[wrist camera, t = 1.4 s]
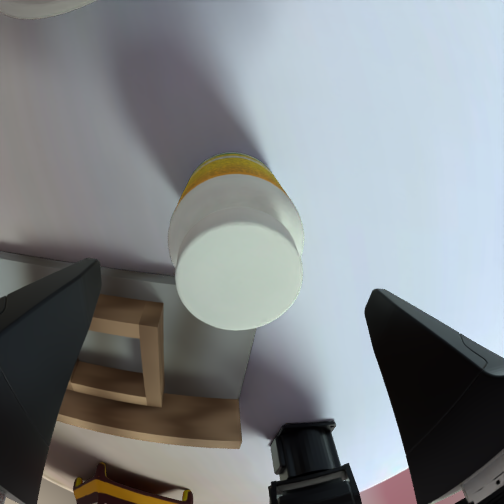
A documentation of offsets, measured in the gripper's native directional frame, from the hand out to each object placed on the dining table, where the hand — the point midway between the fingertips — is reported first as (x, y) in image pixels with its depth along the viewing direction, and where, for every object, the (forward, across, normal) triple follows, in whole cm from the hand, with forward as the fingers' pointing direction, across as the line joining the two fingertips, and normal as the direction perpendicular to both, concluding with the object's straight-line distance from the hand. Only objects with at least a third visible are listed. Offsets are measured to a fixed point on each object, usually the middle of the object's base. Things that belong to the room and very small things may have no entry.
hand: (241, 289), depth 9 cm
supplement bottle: (+10, 0, 0) cm, 10 cm away
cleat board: (+10, +8, +13) cm, 18 cm away
